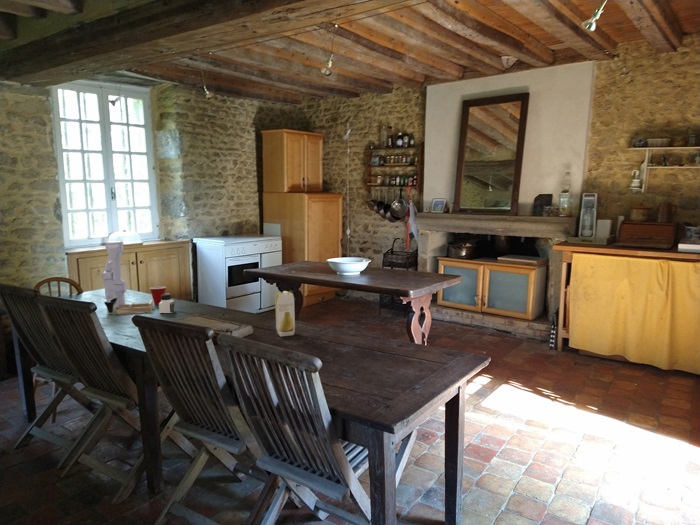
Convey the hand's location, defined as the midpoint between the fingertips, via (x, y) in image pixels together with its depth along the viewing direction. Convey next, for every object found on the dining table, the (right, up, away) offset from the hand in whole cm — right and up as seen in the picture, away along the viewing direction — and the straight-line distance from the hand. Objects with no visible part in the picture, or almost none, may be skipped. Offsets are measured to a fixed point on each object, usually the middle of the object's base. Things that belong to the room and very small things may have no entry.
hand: (111, 311), depth 309 cm
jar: (0, -2, 0) cm, 2 cm away
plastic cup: (+20, +2, +25) cm, 32 cm away
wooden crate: (+12, -1, +6) cm, 14 cm away
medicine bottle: (+34, -1, +2) cm, 34 cm away
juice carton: (+116, -8, -45) cm, 125 cm away
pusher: (+10, 0, +5) cm, 12 cm away
